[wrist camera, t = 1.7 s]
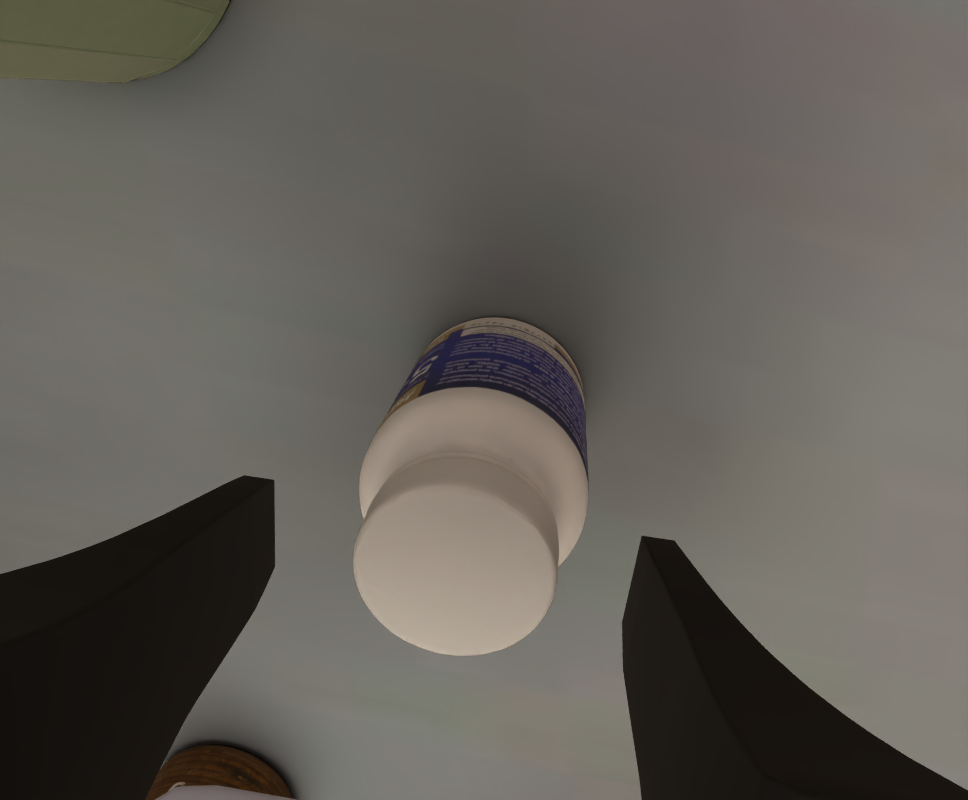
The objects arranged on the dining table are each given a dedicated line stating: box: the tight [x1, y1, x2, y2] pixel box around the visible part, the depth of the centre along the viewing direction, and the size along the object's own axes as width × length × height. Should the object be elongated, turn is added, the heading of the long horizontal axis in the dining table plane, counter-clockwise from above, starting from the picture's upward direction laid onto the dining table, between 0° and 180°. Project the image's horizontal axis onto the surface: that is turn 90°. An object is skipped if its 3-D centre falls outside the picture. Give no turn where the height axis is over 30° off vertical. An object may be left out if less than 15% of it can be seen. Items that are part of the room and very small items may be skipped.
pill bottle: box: [353, 317, 588, 656], centre depth 18 cm, size 5×5×9 cm
